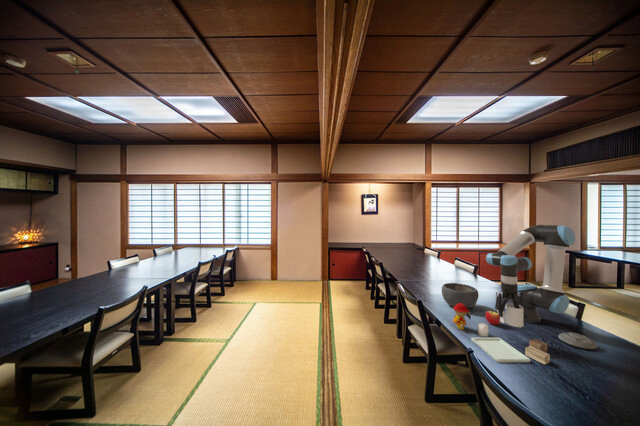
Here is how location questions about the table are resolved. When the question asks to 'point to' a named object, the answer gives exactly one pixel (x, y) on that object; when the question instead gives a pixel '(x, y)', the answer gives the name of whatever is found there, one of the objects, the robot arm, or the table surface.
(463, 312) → the toy
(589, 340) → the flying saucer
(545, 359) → the maple block
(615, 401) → the table surface
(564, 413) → the table surface
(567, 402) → the table surface
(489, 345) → the tray
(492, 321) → the apple
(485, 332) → the round-ended white cylinder
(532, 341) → the walnut cube
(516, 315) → the mug
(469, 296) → the bowl
